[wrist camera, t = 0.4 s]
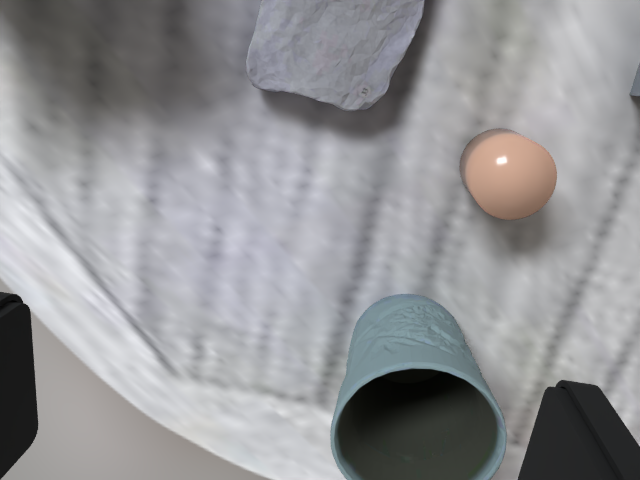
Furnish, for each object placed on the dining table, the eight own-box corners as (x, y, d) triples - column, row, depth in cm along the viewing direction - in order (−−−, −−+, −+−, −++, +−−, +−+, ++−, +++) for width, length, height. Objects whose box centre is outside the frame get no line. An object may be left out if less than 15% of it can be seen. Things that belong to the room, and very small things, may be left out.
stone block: (431, -63, 35) (281, -112, 33) (454, -73, 30) (283, -130, 28) (377, 116, 39) (242, 81, 37) (391, 130, 35) (239, 91, 33)
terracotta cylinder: (476, 118, 36) (491, 127, 31) (546, 142, 36) (571, 154, 31) (448, 186, 38) (458, 204, 33) (515, 209, 38) (534, 230, 33)
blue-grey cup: (357, 402, 44) (351, 520, 33) (328, 293, 41) (310, 381, 30) (481, 384, 43) (519, 501, 31) (460, 268, 40) (493, 352, 28)
